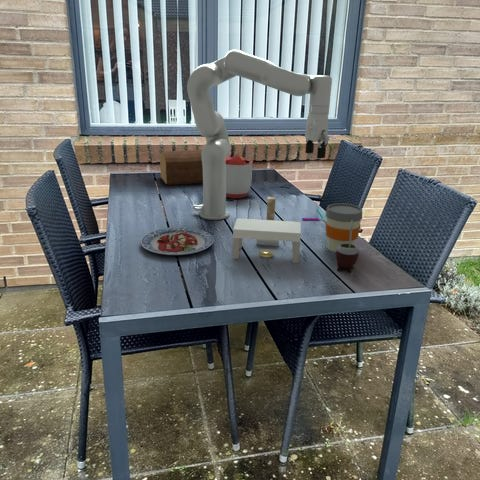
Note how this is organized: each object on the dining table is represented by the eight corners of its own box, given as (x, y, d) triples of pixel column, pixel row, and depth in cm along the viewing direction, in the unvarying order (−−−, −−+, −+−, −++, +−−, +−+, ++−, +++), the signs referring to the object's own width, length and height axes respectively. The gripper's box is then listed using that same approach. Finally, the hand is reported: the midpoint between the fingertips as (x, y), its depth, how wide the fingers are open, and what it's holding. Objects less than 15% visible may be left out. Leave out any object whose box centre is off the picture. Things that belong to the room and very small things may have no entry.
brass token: (258, 258, 159) (258, 254, 159) (259, 252, 164) (259, 249, 163) (273, 259, 159) (273, 255, 158) (273, 253, 163) (273, 250, 163)
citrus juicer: (261, 196, 226) (262, 155, 219) (230, 201, 217) (231, 159, 209) (242, 188, 238) (243, 149, 230) (213, 193, 229) (213, 152, 221)
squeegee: (296, 207, 207) (319, 208, 208) (296, 211, 208) (318, 211, 208) (310, 232, 181) (336, 232, 181) (310, 236, 181) (335, 236, 182)
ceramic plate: (134, 237, 174) (133, 229, 173) (200, 229, 184) (200, 221, 182) (150, 264, 152) (149, 256, 151) (224, 253, 162) (224, 245, 161)
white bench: (232, 258, 157) (233, 229, 154) (236, 246, 168) (237, 218, 164) (298, 262, 155) (300, 233, 152) (298, 250, 166) (300, 222, 162)
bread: (222, 182, 249) (222, 152, 243) (166, 186, 240) (165, 155, 234) (212, 174, 265) (212, 146, 259) (159, 177, 255) (158, 148, 249)
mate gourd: (342, 275, 148) (347, 230, 142) (328, 265, 154) (333, 222, 149) (361, 271, 150) (367, 227, 145) (347, 262, 157) (352, 219, 151)
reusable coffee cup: (331, 256, 161) (336, 215, 155) (316, 243, 172) (320, 204, 166) (364, 253, 164) (370, 213, 158) (347, 240, 175) (352, 202, 170)
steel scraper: (256, 244, 169) (257, 213, 165) (260, 225, 189) (261, 196, 184) (278, 246, 169) (280, 214, 164) (280, 226, 188) (281, 197, 184)
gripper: (299, 107, 182) (296, 151, 188) (321, 113, 167) (316, 160, 173) (317, 107, 184) (313, 150, 191) (339, 112, 169) (334, 159, 176)
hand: (314, 155), depth 182 cm, fingers open, 9 cm apart
